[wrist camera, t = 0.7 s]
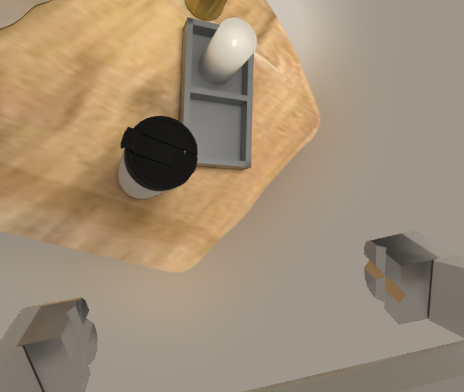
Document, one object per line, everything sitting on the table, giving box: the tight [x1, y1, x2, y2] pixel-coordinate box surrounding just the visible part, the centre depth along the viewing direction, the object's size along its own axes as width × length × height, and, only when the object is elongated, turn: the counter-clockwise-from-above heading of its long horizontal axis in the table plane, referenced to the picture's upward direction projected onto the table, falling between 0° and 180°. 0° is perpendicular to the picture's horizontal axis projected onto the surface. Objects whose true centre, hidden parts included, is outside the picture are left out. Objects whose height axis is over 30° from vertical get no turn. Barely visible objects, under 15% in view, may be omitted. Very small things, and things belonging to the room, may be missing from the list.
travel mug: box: [118, 116, 198, 199], centre depth 37 cm, size 6×7×20 cm
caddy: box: [179, 18, 254, 170], centre depth 49 cm, size 20×10×3 cm, turn 178°
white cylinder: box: [199, 18, 257, 85], centre depth 46 cm, size 5×5×9 cm
